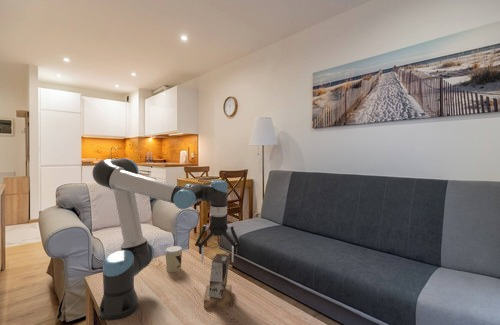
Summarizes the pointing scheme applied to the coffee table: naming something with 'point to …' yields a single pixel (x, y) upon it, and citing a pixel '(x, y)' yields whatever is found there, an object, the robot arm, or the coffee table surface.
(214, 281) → the coffee box
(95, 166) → the robot arm
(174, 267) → the coffee cup
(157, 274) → the coffee table surface
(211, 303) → the walnut block
